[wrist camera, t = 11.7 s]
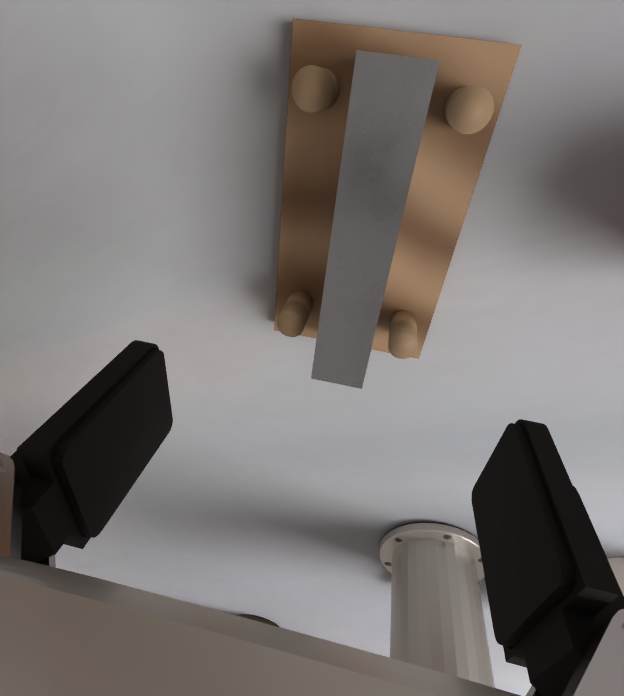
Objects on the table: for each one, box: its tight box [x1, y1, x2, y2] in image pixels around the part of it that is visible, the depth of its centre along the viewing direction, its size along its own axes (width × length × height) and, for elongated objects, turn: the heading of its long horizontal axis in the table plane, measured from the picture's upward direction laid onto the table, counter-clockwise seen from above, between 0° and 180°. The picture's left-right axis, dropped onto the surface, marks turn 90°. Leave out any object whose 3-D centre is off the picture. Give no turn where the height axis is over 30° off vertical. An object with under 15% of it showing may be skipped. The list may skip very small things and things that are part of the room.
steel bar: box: [311, 50, 440, 389], centre depth 24 cm, size 18×4×6 cm, turn 174°
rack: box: [274, 18, 521, 359], centre depth 25 cm, size 20×12×5 cm, turn 174°
